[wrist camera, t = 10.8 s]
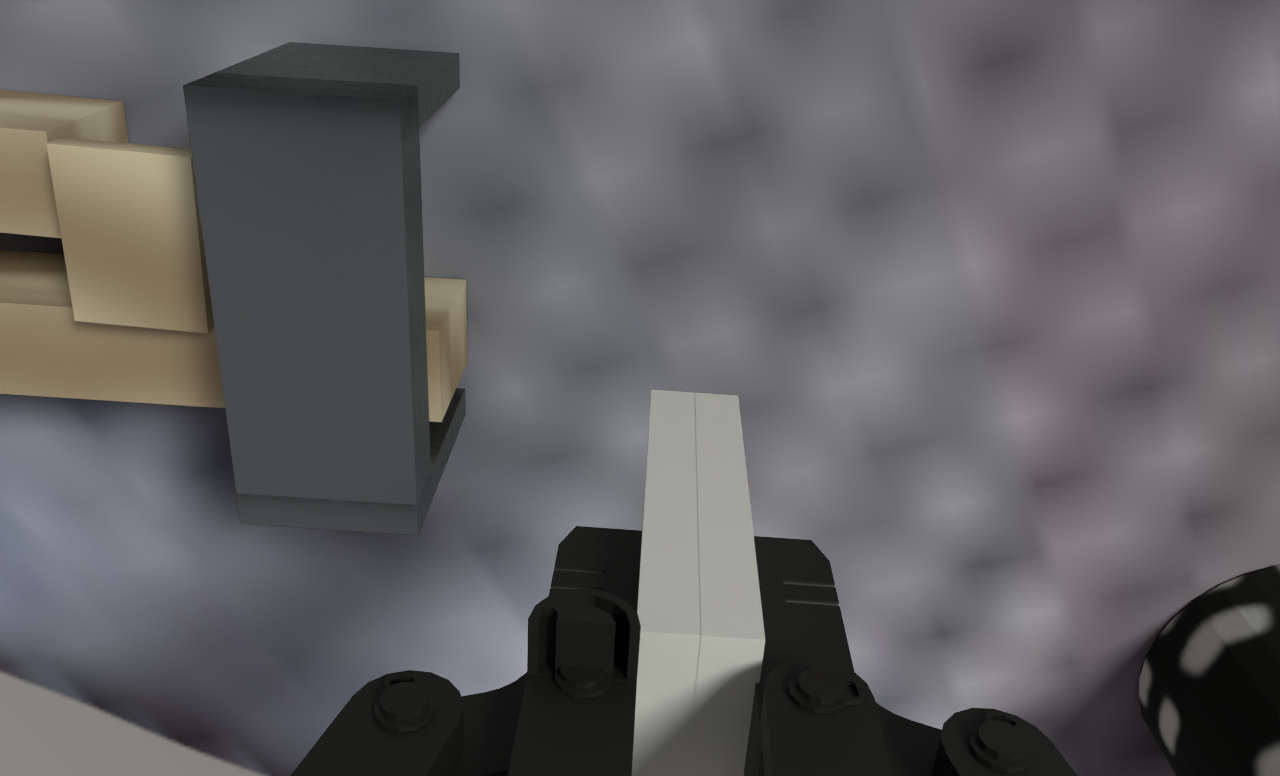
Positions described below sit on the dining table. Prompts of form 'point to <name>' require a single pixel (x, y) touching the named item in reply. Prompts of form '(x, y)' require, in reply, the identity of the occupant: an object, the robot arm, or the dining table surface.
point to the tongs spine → (159, 345)
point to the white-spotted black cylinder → (1219, 681)
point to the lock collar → (323, 281)
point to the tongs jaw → (106, 210)
